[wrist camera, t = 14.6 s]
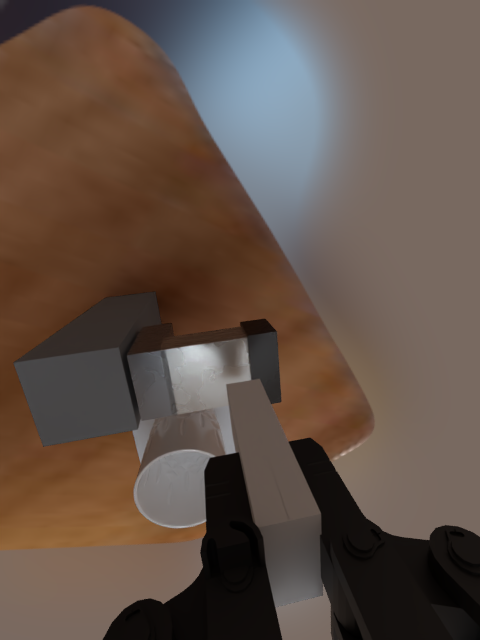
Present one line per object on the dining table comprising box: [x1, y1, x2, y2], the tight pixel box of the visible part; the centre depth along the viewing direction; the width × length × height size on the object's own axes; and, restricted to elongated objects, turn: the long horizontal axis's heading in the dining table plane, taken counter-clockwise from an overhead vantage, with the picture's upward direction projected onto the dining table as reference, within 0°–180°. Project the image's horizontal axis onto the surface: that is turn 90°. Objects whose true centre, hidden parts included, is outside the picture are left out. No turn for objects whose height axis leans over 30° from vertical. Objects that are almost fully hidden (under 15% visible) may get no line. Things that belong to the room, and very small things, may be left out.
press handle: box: [127, 319, 281, 421], centre depth 18 cm, size 8×4×5 cm, turn 96°
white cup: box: [134, 408, 227, 528], centre depth 28 cm, size 8×8×10 cm
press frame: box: [14, 292, 236, 463], centre depth 26 cm, size 13×21×16 cm, turn 6°
